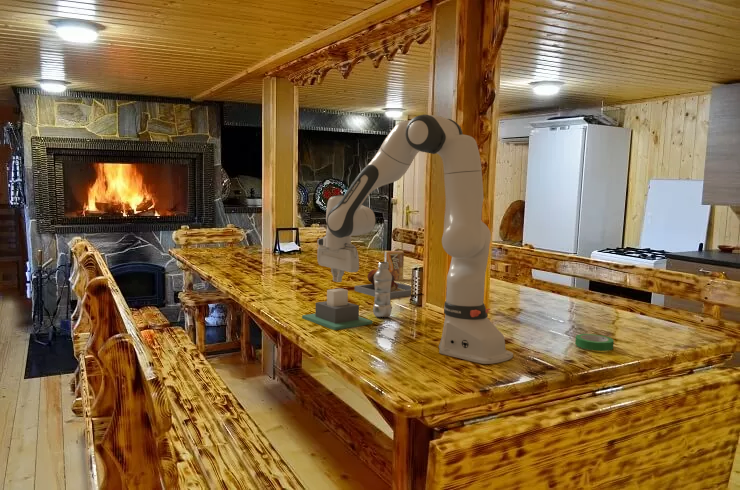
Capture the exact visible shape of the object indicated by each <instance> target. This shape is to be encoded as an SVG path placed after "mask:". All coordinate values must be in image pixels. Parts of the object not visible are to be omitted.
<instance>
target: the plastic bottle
mask: <svg viewBox="0 0 740 490" xmlns="http://www.w3.org/2000/svg"><path fill="white" fill-rule="evenodd" d="M377 264H378V265H377V268H378V270H377V272H376V273H375V275H374V284H375V289H374V290H375V297H374V302H373V307H372V312H373V313H372V314H373V315H374V316H375V317H377V318H381V317H382V319H383V317H384V318H389V317H390V316H391V314H392V304H391V299H390V288H391V280H392V275H391V273H390V272H389V270H388V268H389V263H388V262H385V261H379V262H378V263H377Z"/></svg>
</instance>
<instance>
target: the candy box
mask: <svg viewBox="0 0 740 490" xmlns="http://www.w3.org/2000/svg"><path fill="white" fill-rule="evenodd" d="M404 256H405V252H404V251H403V250H384V262H388V263H389V268H388V270H389V272H390V273H391V274H392V275H393V276H394V277H395V280H394V281H403V280H404V263H405V262H404V260H405V259H404Z"/></svg>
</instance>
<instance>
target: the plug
mask: <svg viewBox="0 0 740 490" xmlns="http://www.w3.org/2000/svg"><path fill="white" fill-rule="evenodd" d="M348 293H349V290H348V289H346V288H345V289H344V288H343V287H342V288H341V287H340V288H339V287H338V288H333V289H327V291H326V301H327V305H329V306H332V307H335V306H342V305H348V302H349V301H348V300H349V299H348V298H349V297H348V296H349V295H348Z"/></svg>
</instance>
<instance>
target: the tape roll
mask: <svg viewBox="0 0 740 490" xmlns="http://www.w3.org/2000/svg"><path fill="white" fill-rule="evenodd" d="M614 342H615V340H614V339H613V338H611V337H609V336H606V335H601V334H595V333H593V334H592V333H580V334H577V335H576V336H575V344H576V345H577V346H576V345H575V346H576V347H578V348H580V347H581V349H583V350H584V349H585V350H588V351H595V352H596V351H597V352H608V351H612V350H613V349H614Z"/></svg>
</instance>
